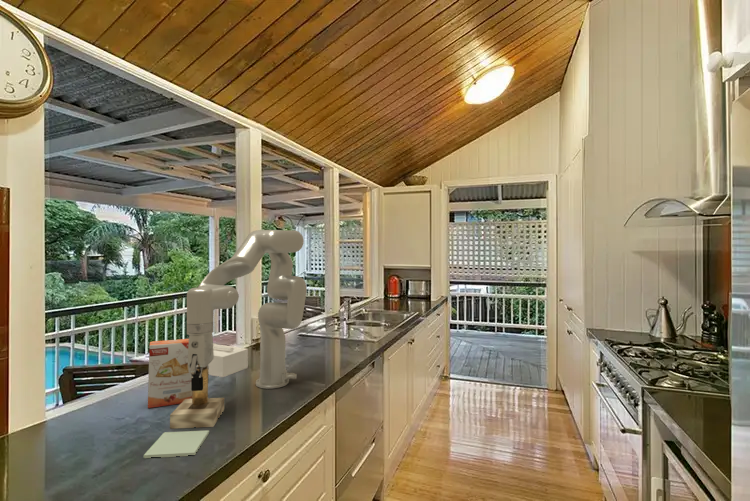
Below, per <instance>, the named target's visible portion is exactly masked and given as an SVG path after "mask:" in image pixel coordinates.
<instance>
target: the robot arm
mask: <svg viewBox="0 0 750 501" xmlns="http://www.w3.org/2000/svg"><path fill="white" fill-rule="evenodd" d="M304 242H305V241H304V236H303V235H302V233H301V232H300V231H298V230H295V229H294V230H288V229H287V230H282V229H257V230H252V231H251V232H250V233H249V234H248V236H246V238H245V239H244V240H243V242H242V243H241V244H240V246H239V247H238V248H237V250H236V251H235V252H234V254H233V255H232V257H230V258H229V259H226V260H225V261H224V262H223V263H220V265H217V266H216V267H215V268H213V269H212V270H211V271H209V272H208V273H207V274H206V276H205V277H204V278H203V280H202V281H201V282H200V283H199V284H198V286H197V287H192V288H190V289H188V291H186V335H187V336H188V339H189V344H188V367H189V368H190V373H191V390H192V391H202V390H203V377H202V369H203V368H207V369H208V370H209V366H208V364H209V363H210V362H211V361H212V360H213V358H214V351H213V343H214V336H213V333H214V332H215V330H214V328H215V327H214V326H215V325H214V323H215V322H214V320H215V318H214V315H215V314H214V310H227V309H231V308H233V307H235V305H236V304H237V303H238V301H239V297H240V296H239V292H238V290H237V289H236V287H233V286H231V285H226V284H227V283H229V282H230V281H233V280H235V279H238V278H241V277H244V276H247V275H249V274H251V273H252V272H254V270H255V269H256V267H257V266H258V264H259V263H260V261H261V260H262V258H263V257H264V255H265V254H268V255H269V258H270V269H269V270H270V271H269V277H268V281H267V288H266V293H267V295H268V297H269V298H270V299H274V300H280V301H281V300H283V301H284V300H285V301H287V302H285V303H283V302H275V301H273V302H266V303H263V304H262V305H261V306H260V307H259V308H258V312H257V320H258V324H259V332H260V346H259V351H260V354H259V378H258V379H256V380H255V386H256V387H258V388H260V389H265V390H266V389H267V390H268V389H269V390H271V389H279V388H283V387H285V386H287V385H288V384H290V380H297V373H294V372H288V371H287V369H286V343H287V342H286V341H287V339H286V334H285V332H284V329H288V330H294V329H297V328H298V327H300V325H301V324H302V321H303V316H304V310H305V304H306V299H307V290H308V289H307V282H306V281H305V279H304V278H303V277H301V276H297V275H293V274H292V273H293V260H292V258H291V256H290V255H289V253H297V252H299V251H301V249H302V248H303V246H304V244H305V243H304ZM197 365H198V367H197ZM197 369H199V371H198V370H197Z"/></svg>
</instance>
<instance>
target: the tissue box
mask: <svg viewBox="0 0 750 501" xmlns="http://www.w3.org/2000/svg"><path fill="white" fill-rule="evenodd" d="M213 351H214V358H213V360H212V361H211V362H210V363H209V364H208V366H209V370H208V376H213V377H218V376H219V377H218V378H224V377H228V376H230V375H232V374H235V373H238V372H240V371H243V370H246V369H248V368H249V362H248V361H249V349H248V348H243V347H237V346H231V345H222V344H217V343H214V342H213ZM197 367H198V365H197Z"/></svg>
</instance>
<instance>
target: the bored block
mask: <svg viewBox="0 0 750 501" xmlns="http://www.w3.org/2000/svg"><path fill="white" fill-rule="evenodd" d="M224 411H225V397H208V402H207V403H206V404H203V405H193V404H192V399H185V400H184V401H183V402H182V403H181V404H178V406H176V408H175V409H174V410H173V411H172V412H171V413H170V415H169V429H192V428H193V429H195V428H194V427H196V428H214V427H215V425H216V423H217V422H218V421H219V419H218V418H220V417H221V416H220V415H222V414H223V413H224ZM222 412H223V413H222Z"/></svg>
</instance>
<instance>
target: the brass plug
mask: <svg viewBox="0 0 750 501" xmlns="http://www.w3.org/2000/svg"><path fill="white" fill-rule="evenodd" d="M197 370H198V371H199V369H197ZM202 377H203V390H202V391H192V404H193V405H203V404H206V403H207V402H208V398H209V375H208V369H207V368H203V369H202Z"/></svg>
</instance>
